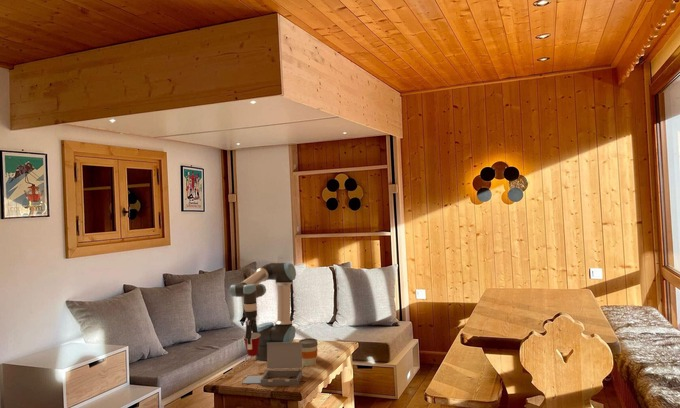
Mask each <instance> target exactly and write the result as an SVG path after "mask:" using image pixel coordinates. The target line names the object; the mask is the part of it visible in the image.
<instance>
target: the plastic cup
mask: <svg viewBox="0 0 680 408" xmlns="http://www.w3.org/2000/svg"><path fill="white" fill-rule="evenodd" d="M260 336H261V334H260V333H252V334H251V338H252V349H250V350H247V339H245V337H246V333H245V334H244V335H243V336H242V338H243V341H244V343H245V348H246V352H247V356H249V357H255V355H257V354H258V348H259V340H260Z"/></svg>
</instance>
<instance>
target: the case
mask: <svg viewBox="0 0 680 408" xmlns="http://www.w3.org/2000/svg"><path fill="white" fill-rule="evenodd" d="M262 376H263V377H262V378H261V384H260V387H261V386H262V387H263V386H267V387H269V386H270V387H271V386H273V387H274V386H277V387H278V386H279V387H280V386H287V387H288V386H299V383H300V382H301V379H302V378H303V369H302V370H266V371H265V372H264V374H263V375H262ZM274 377H275V378H274ZM276 377H279V378H276ZM281 377H282V378H281ZM283 377H285V378H283ZM287 377H289V378H287ZM290 377H291V378H290ZM293 377H295V378H293Z"/></svg>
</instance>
